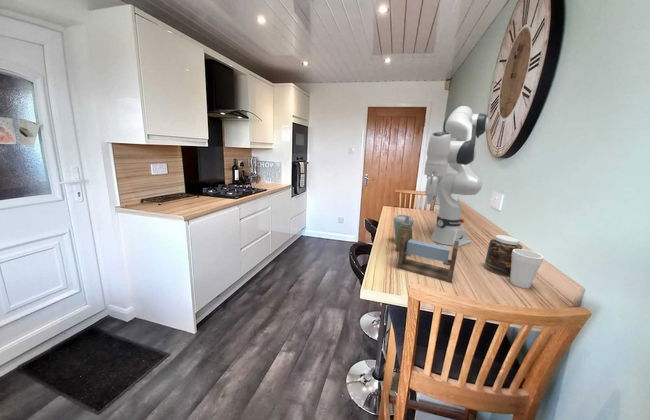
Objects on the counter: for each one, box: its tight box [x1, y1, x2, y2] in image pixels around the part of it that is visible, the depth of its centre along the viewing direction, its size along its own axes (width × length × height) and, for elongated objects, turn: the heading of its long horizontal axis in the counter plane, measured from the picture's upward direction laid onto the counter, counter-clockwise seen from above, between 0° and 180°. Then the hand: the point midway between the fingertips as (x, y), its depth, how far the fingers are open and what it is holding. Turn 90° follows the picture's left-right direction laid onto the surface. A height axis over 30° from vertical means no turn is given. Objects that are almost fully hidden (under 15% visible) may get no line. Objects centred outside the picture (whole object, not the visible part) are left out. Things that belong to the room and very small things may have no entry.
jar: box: [483, 234, 523, 277], centre depth 109 cm, size 12×12×15 cm
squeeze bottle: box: [395, 215, 414, 252], centre depth 125 cm, size 8×8×18 cm
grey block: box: [406, 238, 451, 263], centre depth 104 cm, size 16×4×5 cm, turn 60°
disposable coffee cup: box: [393, 214, 415, 242], centre depth 137 cm, size 11×11×15 cm
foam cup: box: [509, 248, 544, 289], centre depth 98 cm, size 10×9×13 cm
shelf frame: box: [396, 231, 459, 284], centre depth 105 cm, size 21×10×14 cm, turn 60°
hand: (430, 201), depth 112 cm, fingers open, 8 cm apart
